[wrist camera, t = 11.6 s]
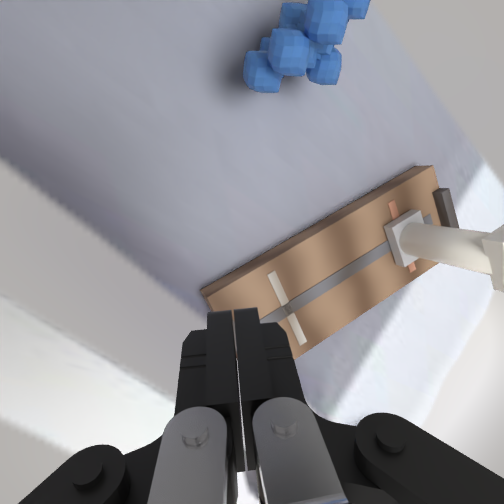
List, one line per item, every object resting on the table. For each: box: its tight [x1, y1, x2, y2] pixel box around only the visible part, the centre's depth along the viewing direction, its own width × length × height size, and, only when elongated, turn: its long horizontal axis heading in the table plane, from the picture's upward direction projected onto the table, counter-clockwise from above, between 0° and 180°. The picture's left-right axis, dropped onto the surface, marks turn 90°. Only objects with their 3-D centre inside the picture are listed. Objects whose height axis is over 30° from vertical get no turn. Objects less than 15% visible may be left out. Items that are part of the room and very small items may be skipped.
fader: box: [384, 209, 504, 292], centre depth 33 cm, size 4×4×12 cm
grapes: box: [243, 0, 370, 93], centre depth 28 cm, size 12×7×12 cm, turn 131°
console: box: [200, 165, 459, 360], centre depth 37 cm, size 26×10×4 cm, turn 114°
